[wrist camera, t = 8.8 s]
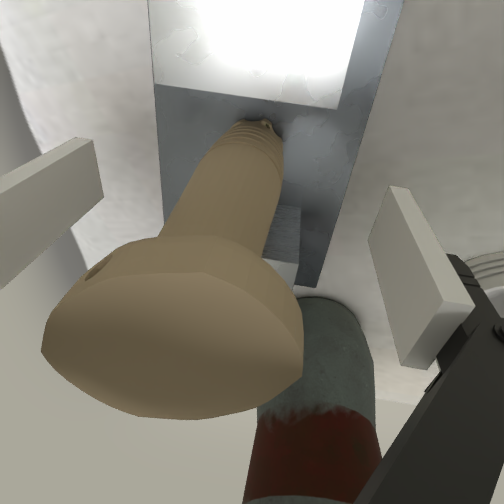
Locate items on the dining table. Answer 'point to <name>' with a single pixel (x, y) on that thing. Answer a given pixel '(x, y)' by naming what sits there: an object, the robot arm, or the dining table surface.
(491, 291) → the engine component
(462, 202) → the dining table surface
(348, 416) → the bottle
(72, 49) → the dining table surface
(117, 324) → the handle
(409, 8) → the dining table surface
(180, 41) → the shaft bed
